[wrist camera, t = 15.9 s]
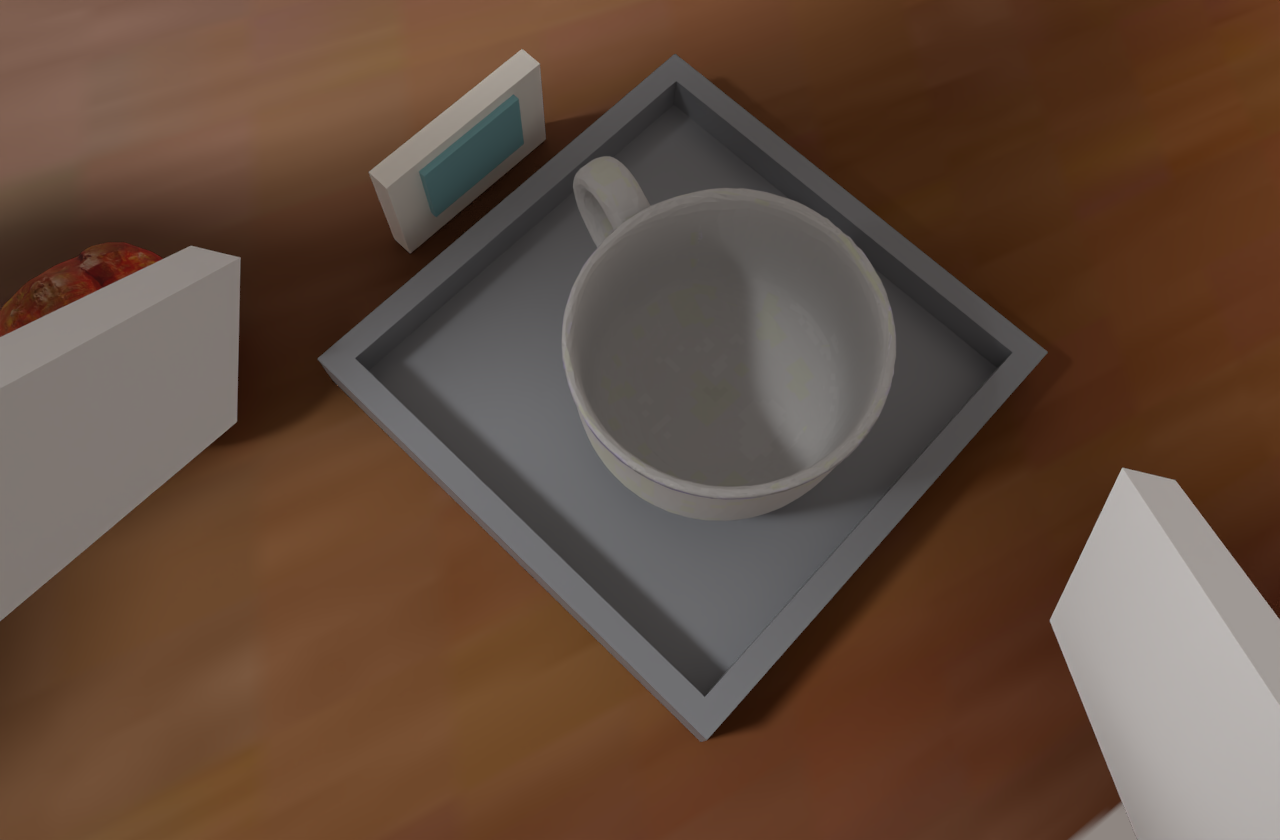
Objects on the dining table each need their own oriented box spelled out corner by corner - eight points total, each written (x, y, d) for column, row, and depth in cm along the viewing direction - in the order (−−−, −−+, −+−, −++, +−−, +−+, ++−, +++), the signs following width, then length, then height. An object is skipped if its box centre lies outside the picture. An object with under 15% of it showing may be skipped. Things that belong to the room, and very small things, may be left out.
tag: (394, 239, 42) (368, 172, 37) (530, 125, 44) (522, 48, 39) (414, 258, 42) (392, 193, 37) (550, 143, 44) (545, 68, 39)
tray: (331, 379, 40) (317, 358, 38) (671, 86, 45) (675, 53, 43) (700, 741, 36) (706, 740, 34) (1025, 373, 41) (1048, 351, 39)
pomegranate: (73, 471, 40) (187, 509, 34) (-97, 354, 36) (-3, 373, 29) (190, 333, 43) (315, 344, 37) (47, 209, 39) (162, 197, 32)
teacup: (888, 485, 39) (959, 417, 31) (631, 592, 37) (640, 547, 29) (738, 195, 43) (768, 72, 35) (500, 279, 41) (478, 168, 33)
